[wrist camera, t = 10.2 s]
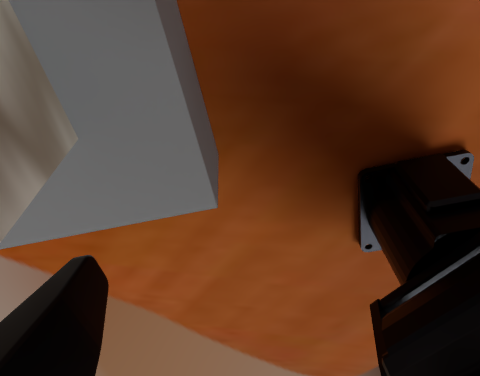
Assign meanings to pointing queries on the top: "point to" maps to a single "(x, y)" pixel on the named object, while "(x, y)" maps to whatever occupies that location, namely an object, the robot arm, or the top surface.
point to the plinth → (119, 117)
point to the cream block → (26, 122)
